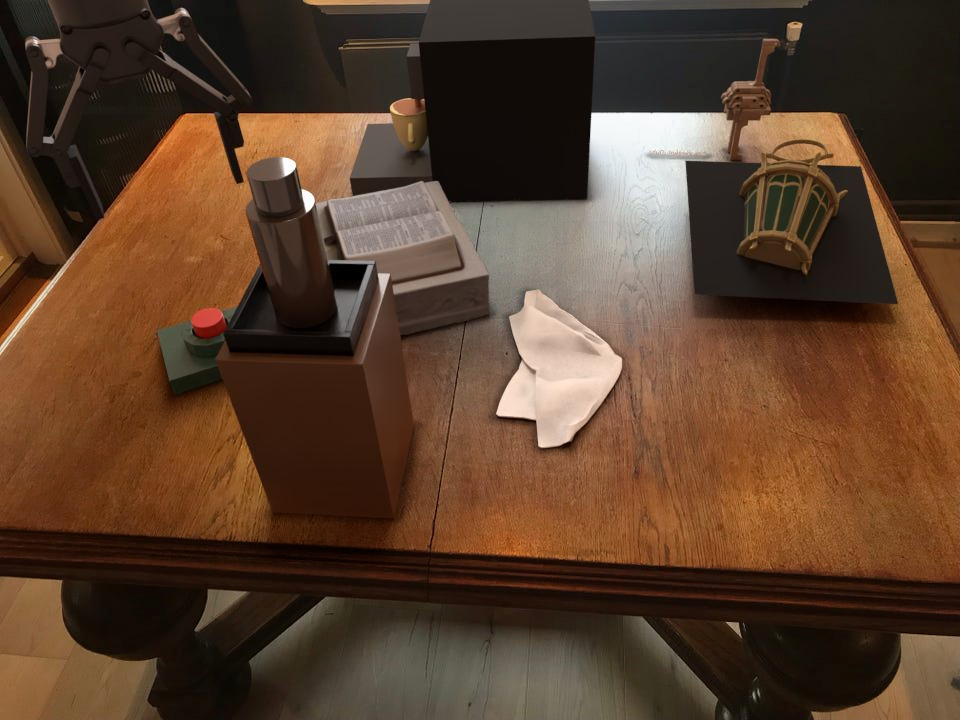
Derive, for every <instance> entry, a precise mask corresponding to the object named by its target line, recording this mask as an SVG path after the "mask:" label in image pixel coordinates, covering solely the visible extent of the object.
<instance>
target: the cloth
mask: <svg viewBox="0 0 960 720" xmlns="http://www.w3.org/2000/svg"><path fill="white" fill-rule="evenodd" d="M524 295H525V296H524V301H523V307H522V308H521V310H520V311H519V312H517V313H513V314H511V315H509V316H508V319H509V323H510V328H511V331H512V335H513V336H512V337H513V338H514V341H515V345H516V347H517V351H518V354H519V355H520V357H521V362H520V364H519V366H518V369H517V371H516V372H515V373H514V375H513V376H512V377H511V379H510V380H509V382H508V384H507V385H506V388H505V389H504V391H503V394H502V396H501V398H500V401H499V403H498V407H497V410H496V412H495V415H496V416H497V417H498V418H510V419H511V418H512V419H514V418H515V419H526V420H529V421H536V433H537V442H538V443H537V447H538V448H540V449H548V448H557V447H560V446H563V445H565V444H566V443H569V442H573V439H574V437H575V435H576V433H577V432H579V431H580V430H581V429H582V427H584V425H586V424H587V423H588V421H589V420H590V419H591V418H592V416H593V415H594V414H595V412H596V411H597V410H598V409H599V408H600V406H602V404H603V402H604V401H605V399H606V398H607V396H608V395H609V394H610V392H611V390H612V389H613V387H614V385H615V384H616V382H617V380H618V379H619V377H620V375H621V373H622V369H623V357H621V356H620V355H617V354H616V353H615V352H614V350H613V349H612V348H611V346H610V345H609V343H607V342H606V341H605V340H604V339H602V338H601V337H600V336H599V335H598V334H597V333H595V332H594V331H593V330H592V329H590V328H589V327H587V326H586V325H584V324H583V323H581V322H580V321H579V320H578V319H577V318H576V317H575V316H574V315H572V314H570V313H569V312H567V311H565V310H563V309H562V308H560V306H559V305H558V304H557V303H556V302H554V300H553V299H551V298H550V297H549V296H547V295H545V294H543V293H542V291H541V289H540V288H537V289H531V290H527V291H525V294H524Z"/></svg>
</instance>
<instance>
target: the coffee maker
mask: <svg viewBox="0 0 960 720" xmlns="http://www.w3.org/2000/svg"><path fill="white" fill-rule="evenodd" d="M595 52H596V33H595V27H594V22H593V16H592V12H591V6H590V1H589V0H429V3H428V6H427V10H426V14H425V18H424V22H423V25H422V28H421V32H420V37H419V40H418V42H415V43H413V42H412V43H410V44H409V47H408V50H407V54H406V63H407V73H408V81H409V91H410V97H408V98H403V99H399V100H397V101H395V102H393V103H391V105H390V106H389V111H390V117H391V121H392V122H390V123H387V122H386V123H367V125H366V127H365V131H364V133H363V137H362V139H361V142H360V145H359V149H358V151H357V155H356V157H355V161H354V164H353V166H352V170H351V172H350V175H349V182H350V183H349V184H350V188H351V194H352V196H357V195H362V194H368V193H373V192H378V191H384V190H389V189H394V188H399V187H405V186H408V185H411V184H414V183H417V182H420V181H423V182H424V183H427V182H432V181H438V182H439V183H440V185H441V188H442V190H443V192H444V194H445V196H446V198H447V199H448V201H449V203H465V202H466V203H467V202H469V203H470V202H505V201H506V202H508V201H509V202H513V201H515V202H517V201H518V202H519V201H559V200H560V201H561V200H563V201H564V200H566V201H567V200H588V191H589V190H588V189H589V171H590V152H591V151H590V148H591V131H592V130H591V129H592V111H593V110H592V109H593V89H594V71H595Z"/></svg>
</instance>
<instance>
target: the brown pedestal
mask: <svg viewBox="0 0 960 720" xmlns="http://www.w3.org/2000/svg"><path fill="white" fill-rule="evenodd" d="M328 262H329V266H330V271H331V275H332V280H333V285H334V289H335V294H336V298H337V303H338V306H337V310H336V312H335V313H334V315H333V316H332V317H331V318H330V319H328V320H327V321H326V322H324V323H322V324H320V325H317V326H314V327H310V328H303V329H297V328H290V327H287V326H284V325H283V324H281V323H280V322H279V321H278V320H277V318H276V316H275V312H274V309H273V305H272V302H271V298H270V295H269V292H268V288H267V285H266V281H265V278H264V274H263V271H262V267H261V264H260V263H259V264H258V266H257V268H256V269H255V272H254V274H253V276H252V278H251V280H250V281H249V284H248V285H247V287H246V290H245V291H244V294H243V295H242V297H241V299H240V301H239V303H238V305H237V308H236V310H235V312H234V314H233V316H232V318H231V320H230V322H229V324H228V325H227V327H226V329H225V331H224V333H223V335H224V338H225V342H224V344H223V346H222V348H221V350H220V352H219V354H218V356H217V358H216V359H215V361H216V363H217V366H218V368H219V371H220V374H221V376H222V381H223V385H224V387H225V390H226V393H227V395H228V397H229V401H230V404H231V405H232V408H233V411H234V414H235V416H236V419H237V421H238V424H239V427H240V430H241V432H242V434H243V438H244V440H245V443H246V445H247V448H248V450H249V453H250V456H251V459H252V462H253V464H254V466H255V469H256V472H257V474H258V477H259V480H260V483H261V486H262V488H263V491H264V493H265V496H266V499H267V502H268V505H269V507H270V510H271V512H272V513H278V514H295V515H296V514H298V515H315V516H316V515H318V516H332V517H333V516H338V517H354V518H356V517H357V518H371V519H392V520H393V519H395V517H396V512H397V508H398V503H399V498H400V494H401V489H402V485H403V481H404V475H405V471H406V465H407V461H408V456H409V452H410V447H411V443H412V438H413V433H414V429H415V423H414V416H413V409H412V404H411V398H410V390H409V384H408V378H407V371H406V365H405V364H406V363H405V358H404V352H403V346H402V339H401V335H400V331H399V325H398V318H397V312H396V305H395V299H394V292H393V286H392V280H391V274H384V273H378V272H377V266H376V261H358V260H328Z"/></svg>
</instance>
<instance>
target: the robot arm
mask: <svg viewBox="0 0 960 720" xmlns="http://www.w3.org/2000/svg"><path fill="white" fill-rule="evenodd" d="M47 3H48V5H49V8H50V10H51V12H52V15H53V17H54V20H55V22H56V25H57V27H58V31H59V37H58V38H52V39H39V37H37V36H33V35H31V36H27V38H25V55H26V58H27V61H28V64H29V67H30V70H31V71H30V84H29V98H28V109H27V111H28V112H27V123H26V135H25V141H26V142H25V146H26V153H27V155H28V156H30V157H32V158H39V157H40V156H41V157H43V156H44V157H49V158H52V159H53V160H54V161H55V163H56V165H57V167H58V169H59V172H60V174H61V176H62V178H63V180H64V182H65V184H66V186H68V187H69V188H70V189H75V188H79V187H80V188H81V190H82V191H83V194H84V197H85V199H86V200H87V203H88V205H89V207H90V209H91V212H92V214H93V216H94V218H95V221H98V220H102V219H105V214H104V207H103V203H102V201H101V199H100V197H99V194H98V192H97V190H96V188H95V186H94V183H93V181H92V178H91V176H90V174H89V171H88V170H87V167H86V165H85V163H84V160H83V159H82V156H81V153H80V151H79V149H78V147H77V144H72V143H73V139H74V138H75V135H76V133H77V130H78V128H79V126H80V123H81V121H82V119H83V117H84V114H85V111H86V109H87V107H88V105H89V102H90V100H91V97H92V96H93V95H94V94H95V91H96V89H97V86H98V84H99V83H100V82H102V83H105V84H109V86H112V85H117V84H120V83H122V82H124V81H126V80H141V79H145V78H147V75H148V74H150V73H151V72H152V71H153V72H155V73H156V74H158V75H159V76H161V77H162V78H164V79H165V80H168V81H170V82H172V83H173V84H174V85H176V86H177V87H178V88H181V90H184V91H185V92H187V93H188V94H190V95H191V96H192V97H194V98H196V99H197V100H198V101H200V102H201V103H203V104H204V105H206V106H208V107H209V108H211V109H212V110H213V111H215V112H213V116H214V119H215V122H216V126H217V129H218V132H219V136H220V138H221V142H222V145H223V148H224V152H225V155H226V158H227V162H228V165H229V168H230V172H231V174H232V177H233V180H234V181H235V184H236V185H239V184H244V183H245V181H244V178H243V177H244V176H243V174H242V170H241V167H240V163H239V159H238V157H237V153H236V150H237V149H240V148H244V146H245V140H244V136H243V135H244V134H243V132H242V129H241V125H240V122H239V114H240V113H241V112H243V111H244V110H245V109H250V108H252V107H253V106H254V100H253V98H252V96H251V94H250V93H249V91H248V89H247V88H246V86H245V85H244V84H243V83H242V82H241V81H240V80H239V79H238V77H237V76H236V75H235V74H234V73H233V72H232V71H231V69H229V67H228V66H227V65H226V64H225V63H224V61H223V60H222V59H221V58H220V57H219V56H218V55H217V54H216V52H215V51H214V50H213V49H212V48H211V47H210V46H209V44H208V43H207V42H206V41H205V39H203V37H201V35H200V34H199V33H198V31H197V28H196V25H195V24H194V20H193V19H192V17H191V16H190V14H189V13H190V12H188V10H187V9H186V8H183V7H179V8H176V10H175V11H174V14H172V15H168V16H165V17H162V18H157V17H156V16H155V15H154V14H153V12H152V9H151V7H150V4H149V1H148V0H47ZM165 34H168V35H171V36H172V37H173V38H174V39H175V41H178V42H186V44H187V46H188V47H189V48H190V50H191V51H192V52H193V54H195V56H196V57H197V58H198V59H199V60H200V61H201V62H202V64H203V65H204V66H205V67H206V68H207V69H208V70H209V71H210V73H212V74H213V76H214V77H215V78H216V79H217V81H219V83H220V84H221V85H222V86H223V87H224V88H225V89H226V90H227V92H229V93H230V95H229V96H226V95H224V94H223V93H221V92H220V91H218V90H217V89H216V88H214V87H213V86H211V85H210V84H208V83H207V82H206V81H204V80H203V79H201V78H199V77H198V76H197V75H195V74H194V73H192V72H191V71H189V70H188V69H186V68H185V67H184V66H183V65H181V64H179V63H178V62H177V61H175V60H173V58H171V57H170V56H169V55H168V54H167V53H165V52H164V51H162V49H161V46H162V44H163V41H164V38H165ZM60 55H63V56H64V57H66V58H67V59H68V60H69V61H71V62H72V63H74V64H75V65H76V66H78V70H77V71H76V74H75V79H74V80H73V81H74V82H73V84H72V87H71V88H70V91H69V93H68V96H67V98H66V101H65V103H64V106H63V108H62V110H61V113H60V115H59V118H58V119H57V122H56V125H55V128H54V130H53V132H52V133H51V135H50V136H44V135H45V133H44V132H45V124H46V115H47V114H46V113H47V103H48V93H49V92H48V91H49V69H53V68H54V67H55V66H57V58H58V57H59V56H60Z"/></svg>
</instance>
